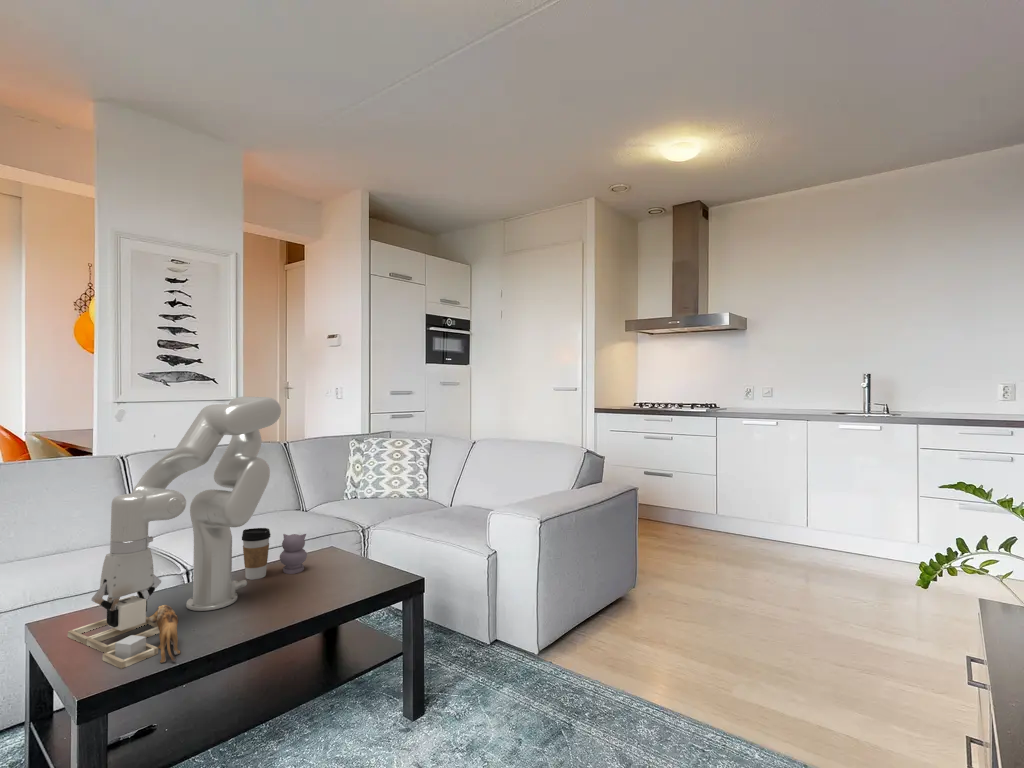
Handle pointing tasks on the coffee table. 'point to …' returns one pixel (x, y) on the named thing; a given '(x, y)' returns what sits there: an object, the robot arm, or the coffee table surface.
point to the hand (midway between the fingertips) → (127, 620)
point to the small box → (121, 663)
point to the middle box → (96, 641)
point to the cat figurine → (293, 553)
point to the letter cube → (130, 612)
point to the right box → (77, 633)
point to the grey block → (130, 646)
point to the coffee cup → (255, 552)
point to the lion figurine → (166, 630)
